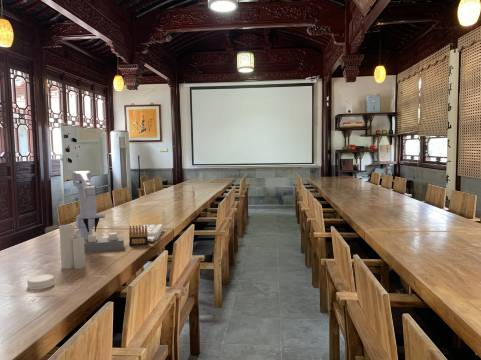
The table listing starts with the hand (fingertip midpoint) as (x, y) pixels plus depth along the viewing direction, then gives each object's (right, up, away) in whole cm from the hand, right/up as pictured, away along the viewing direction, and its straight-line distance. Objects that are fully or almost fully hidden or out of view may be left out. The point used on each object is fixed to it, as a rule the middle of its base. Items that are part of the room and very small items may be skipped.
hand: (91, 231), depth 212 cm
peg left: (0, -6, +1) cm, 6 cm away
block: (+5, -10, +3) cm, 12 cm away
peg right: (+10, -6, +4) cm, 13 cm away
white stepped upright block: (+3, -13, -29) cm, 32 cm away
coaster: (0, -15, -54) cm, 56 cm away
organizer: (+24, -8, +32) cm, 41 cm away
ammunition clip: (+23, -10, +11) cm, 28 cm away
